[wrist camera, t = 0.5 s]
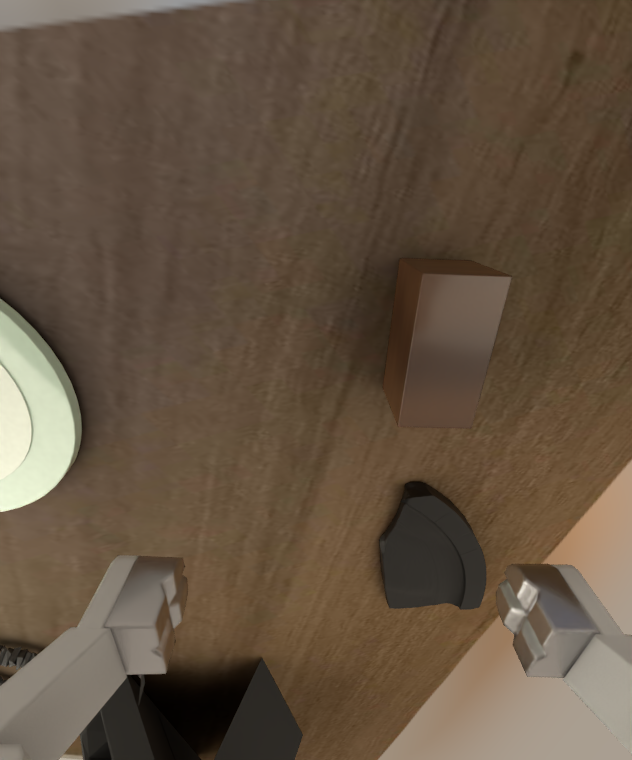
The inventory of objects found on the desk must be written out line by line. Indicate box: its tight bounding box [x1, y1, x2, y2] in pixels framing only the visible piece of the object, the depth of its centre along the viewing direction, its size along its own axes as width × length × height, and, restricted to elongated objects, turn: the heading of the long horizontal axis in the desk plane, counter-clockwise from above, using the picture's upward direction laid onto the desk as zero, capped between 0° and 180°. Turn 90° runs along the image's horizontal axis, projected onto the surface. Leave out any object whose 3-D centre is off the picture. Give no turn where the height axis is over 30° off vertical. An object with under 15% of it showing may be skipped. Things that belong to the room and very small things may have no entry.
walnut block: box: [383, 258, 512, 428], centre depth 20 cm, size 8×4×4 cm, turn 178°
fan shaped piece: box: [379, 482, 486, 609], centre depth 29 cm, size 8×14×2 cm, turn 7°
